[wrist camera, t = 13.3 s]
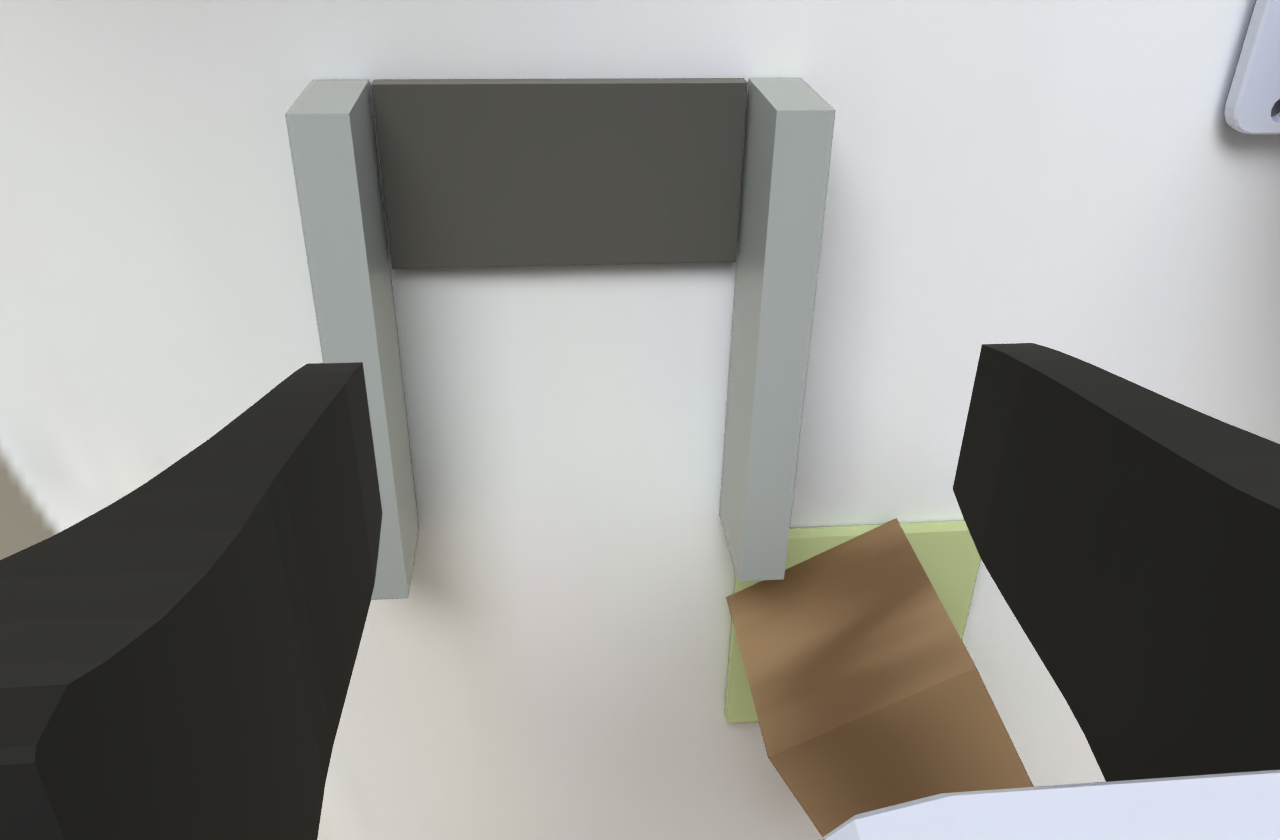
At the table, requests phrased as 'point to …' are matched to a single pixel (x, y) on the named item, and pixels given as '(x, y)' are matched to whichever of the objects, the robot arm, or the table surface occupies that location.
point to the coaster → (934, 543)
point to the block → (867, 683)
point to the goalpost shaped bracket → (573, 239)
